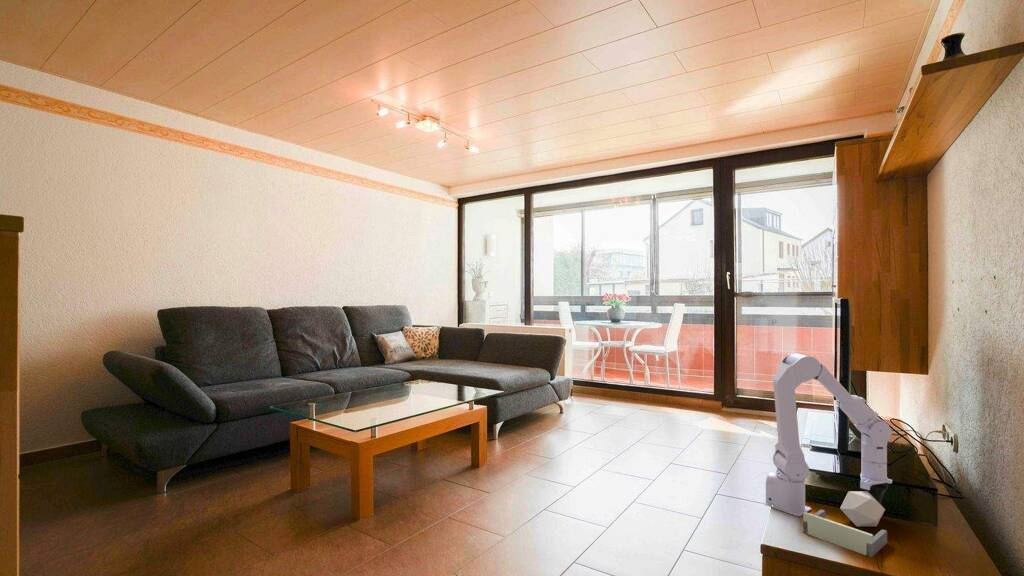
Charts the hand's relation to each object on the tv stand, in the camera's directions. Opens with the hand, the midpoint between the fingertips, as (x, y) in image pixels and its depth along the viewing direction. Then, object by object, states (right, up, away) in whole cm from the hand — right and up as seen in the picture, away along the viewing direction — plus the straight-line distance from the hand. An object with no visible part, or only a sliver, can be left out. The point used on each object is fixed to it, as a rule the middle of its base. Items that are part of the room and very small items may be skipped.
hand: (873, 509), depth 135 cm
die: (-7, -2, -6) cm, 9 cm away
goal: (-17, -1, -13) cm, 22 cm away
